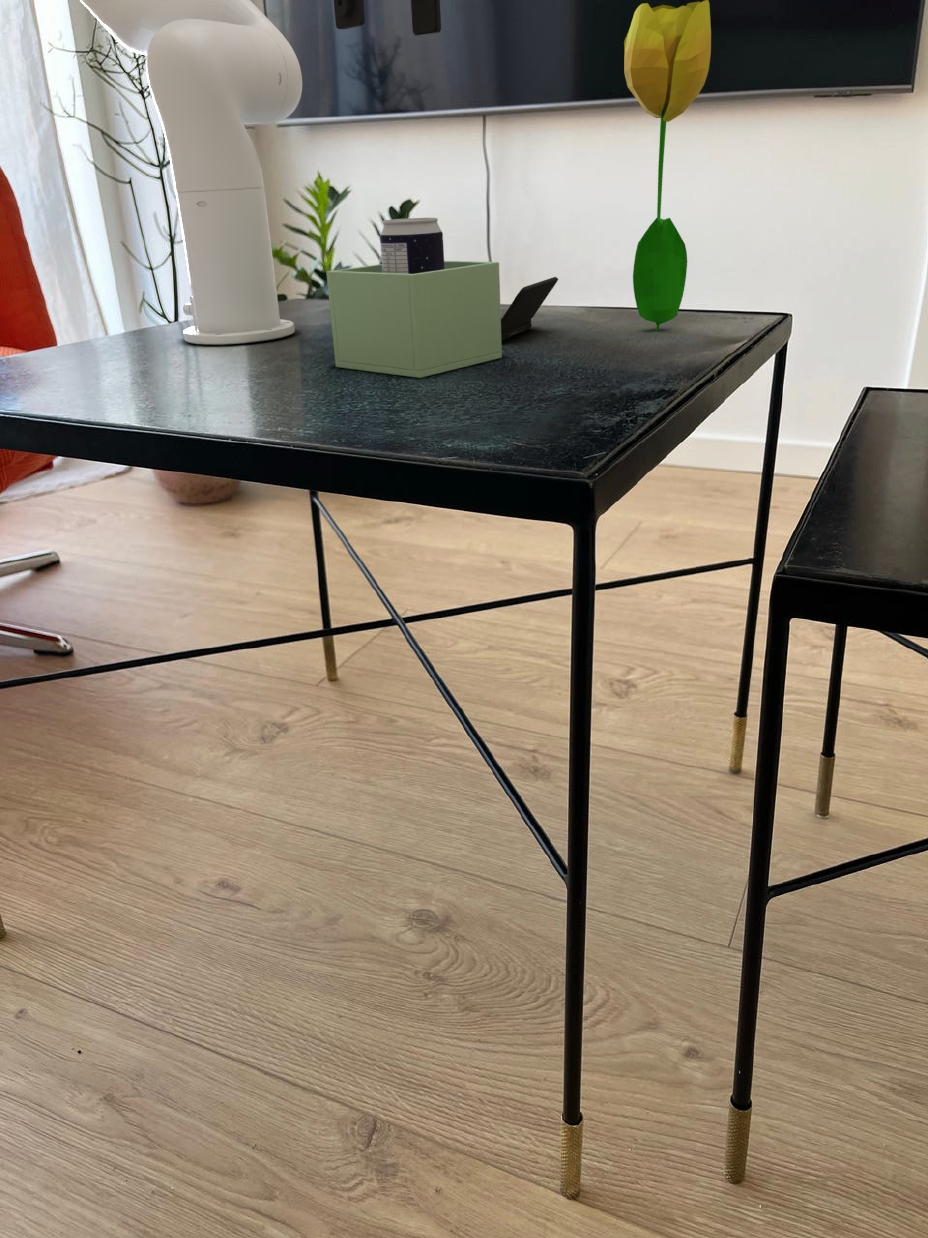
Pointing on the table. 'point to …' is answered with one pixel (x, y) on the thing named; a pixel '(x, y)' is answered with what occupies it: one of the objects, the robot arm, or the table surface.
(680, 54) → the flower
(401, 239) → the beverage can
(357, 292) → the pale green square box
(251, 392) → the table surface
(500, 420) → the table surface
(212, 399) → the table surface
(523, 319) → the black tablet stand
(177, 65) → the robot arm
